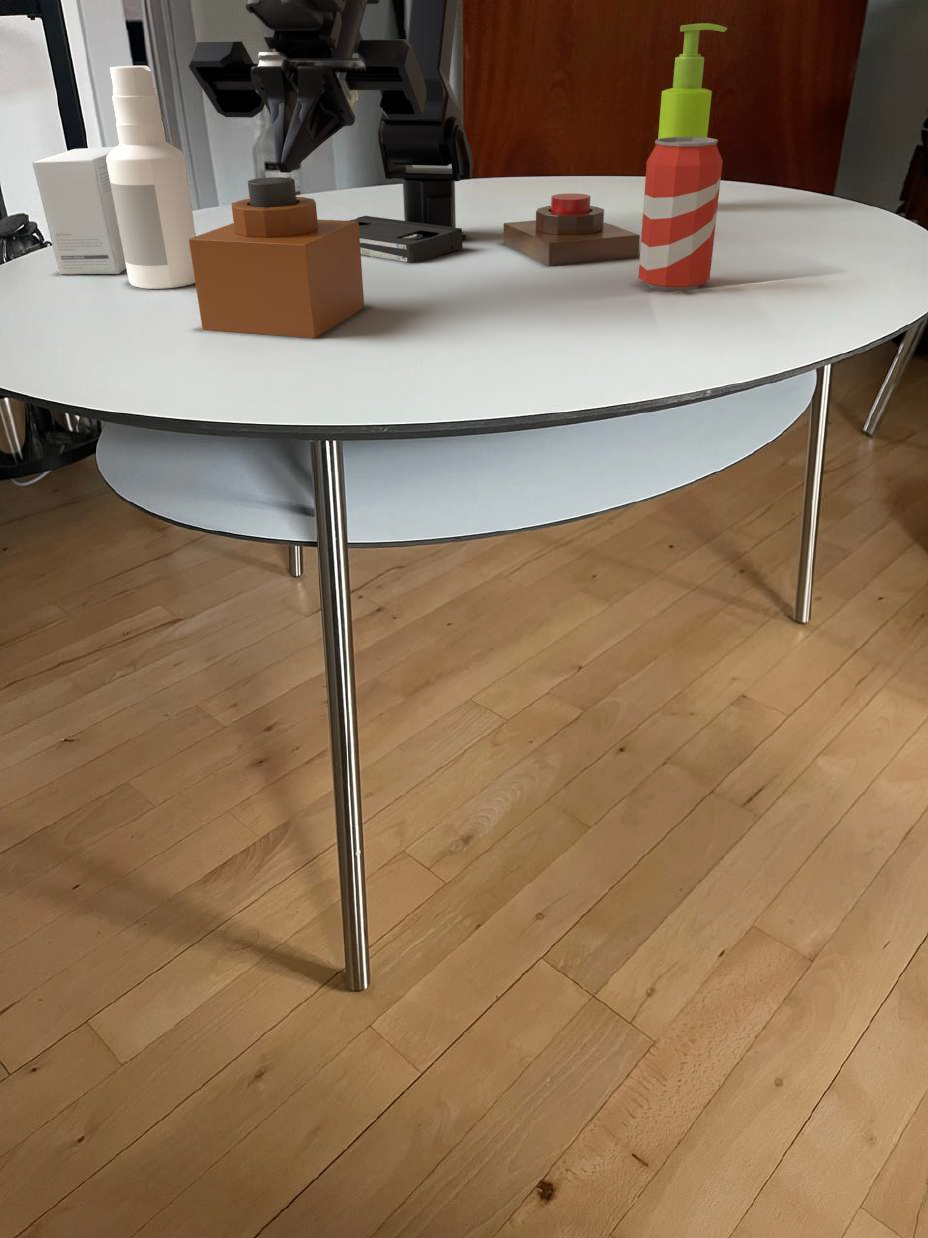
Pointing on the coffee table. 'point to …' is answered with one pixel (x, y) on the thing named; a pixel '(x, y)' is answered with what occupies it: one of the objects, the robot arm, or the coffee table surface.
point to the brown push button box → (278, 271)
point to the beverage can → (680, 213)
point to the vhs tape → (406, 239)
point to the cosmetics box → (81, 211)
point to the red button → (570, 203)
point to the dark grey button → (272, 192)
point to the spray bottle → (149, 187)
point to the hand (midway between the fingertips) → (282, 168)
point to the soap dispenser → (687, 90)
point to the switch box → (571, 238)
